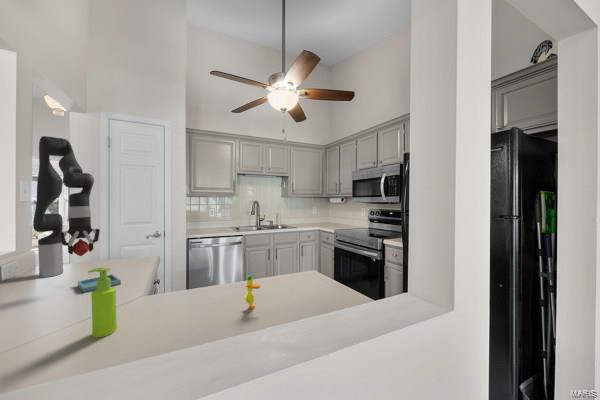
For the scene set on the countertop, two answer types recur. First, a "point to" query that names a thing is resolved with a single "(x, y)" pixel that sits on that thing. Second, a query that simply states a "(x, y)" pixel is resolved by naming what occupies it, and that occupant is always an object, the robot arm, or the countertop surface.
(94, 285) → the tray
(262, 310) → the countertop surface
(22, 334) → the countertop surface
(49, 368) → the countertop surface
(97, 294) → the soap dispenser
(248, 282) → the toy figure
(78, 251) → the onion
